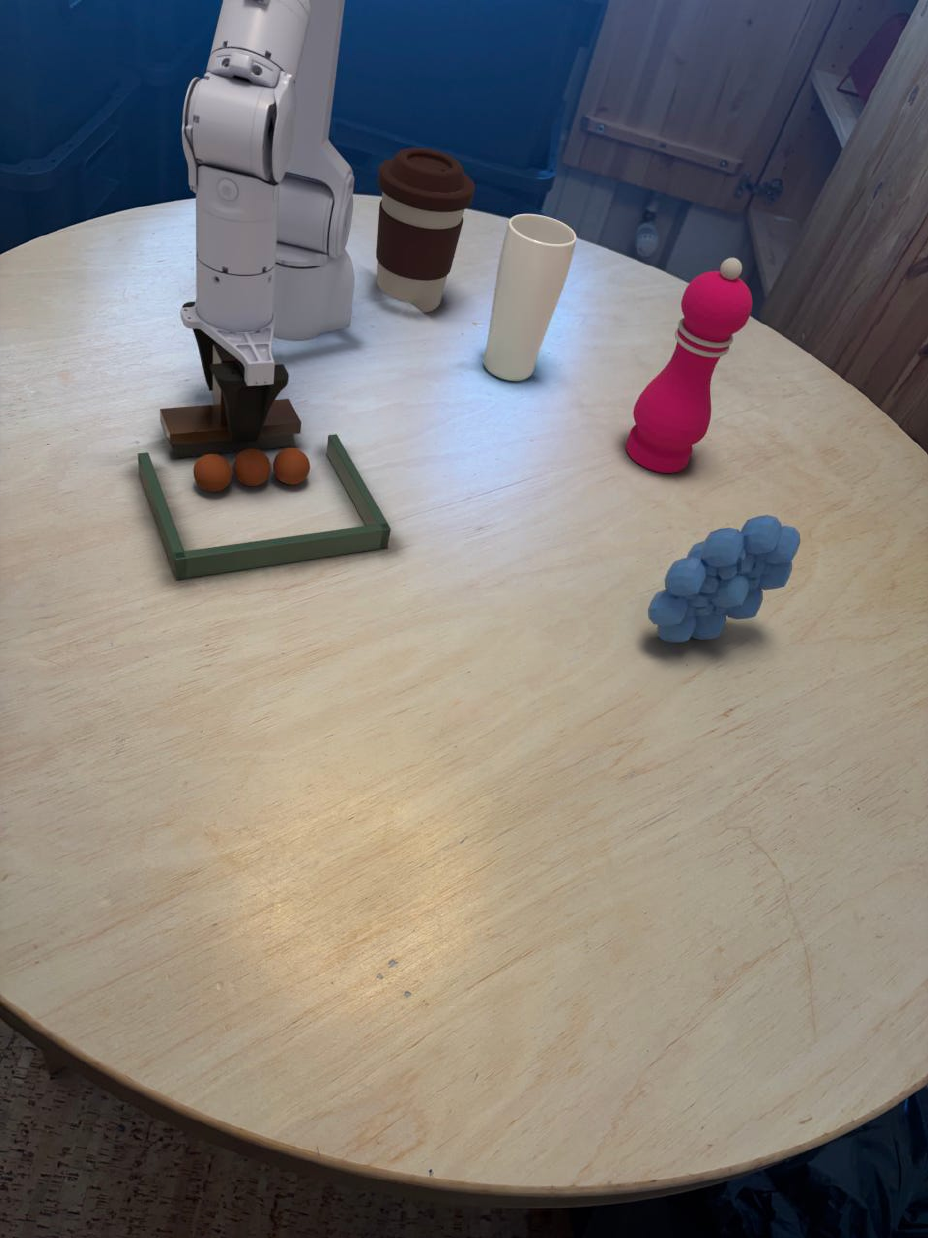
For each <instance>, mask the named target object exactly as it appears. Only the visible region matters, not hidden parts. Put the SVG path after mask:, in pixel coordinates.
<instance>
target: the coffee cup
mask: <svg viewBox="0 0 928 1238" xmlns="http://www.w3.org/2000/svg"><path fill="white" fill-rule="evenodd" d="M377 172H378V173H377V186H378V188H379V190H380V191H381V200H380V202H379V203H378V204H379V205H378V218H377V235H376V251H375V253H376V254H375V257H376V260H377V265H376V267H377V268H376V280H375V282H376V286H377V287H378V289H379V290H380V291H381V292H382V293H384V295H386V296H389V297H390V298H392V299H394V300H397V301H401V302H405V303H409V304H411V305H413V307H415V308H416V309H418V310H419V311H420V312H421V313H422V314H426V313H430V312H432V311H434V310H436V309H437V308H438V307H439V306H440V304H441V301H442V296H443V294H444V289H445V285H446V282H447V278H448V275H449V274H450V273H451V271H452V266H453V263H454V259H455V255H456V252H457V248H458V244H459V240H460V236H461V234H462V233H461V232H462V230H463V229H462V228H463V226H464V212H465V210H466V209H467V208H469V207H470V206H471V205H472V203H473V199H474V195H475V189H476V186H475V183H474V181H473V180H472V178H471V177H469V176H468V175H467V174H465V173H464V168H463V165H462V163H460V161H459V160H457V159H456V158H454V157H453V156H451V155H449V154H446V153H445V152H441V151H438V150H435V149H429V148H422V147H410V148H409V147H408V148H403V149H400V150H399V151H398V152H397V153H396V155H395V156H394V157H393V158H390V159H386V160H384V161H383V162H382V163H381V164H380V165H379V167H378V171H377Z"/></svg>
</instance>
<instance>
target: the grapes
mask: <svg viewBox="0 0 928 1238" xmlns="http://www.w3.org/2000/svg"><path fill="white" fill-rule="evenodd" d="M800 544H801V534H800V531H798V529H797V528H796V527H793V526H789V525H783V524H782V522H781V521H780V520H779V518H778V517H777V516H773V515H768V514H766V515H757V516H755V517H751V518H749V519H747V520H746V521H745V523H744V524H743V526H742V528H741V530H740V529H737V528H733V527H725V528H717V529H716V530H712V531H711V532H709V533H708V534H707V536H706V537H705V539H704V540H703V541H700V542H697V543H695V544H693V545H692V547H690V549H689V551H688V552H687V555H686V557H685V558H681V559H680V558H679V559H677V560H675V561H673V562H672V563H671V565H670V567H669V568H668V570H667V572H666V574H665V577H664V589H662V590H659V591H657V592H656V593H655V594H654V596H653V597H652V599H651V600H650V602H649V606H648V608H647V617H648V619H649V621H650V622H651V623H652V624H653V625H656V629H657V630H656V631H657V636H658V637H659V638H660V639H661V640H662V641H663V642H667V643H671V644H673V643H674V644H675V643H685V642H688V641H689V640H690V639H691V638H692V639H696V640H700V641H702V640H704V641H705V640H713V639H717V638H719V637H720V635H721V633H722V631H723V630H724V627H725V625H726V621H727V618H730V619H733V620H746V619H752V618H755V617H756V616H757V614H758V612H759V611H760V609H761V607H762V603H763V601H764V591H769V590H770V591H771V590H778V589H781V588H785V586H786V584H787V583H788V581H789V579H790V577H791V573H792V571H793V560H794V558H795V557H796V555H797V553H798V551H799V547H800Z"/></svg>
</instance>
